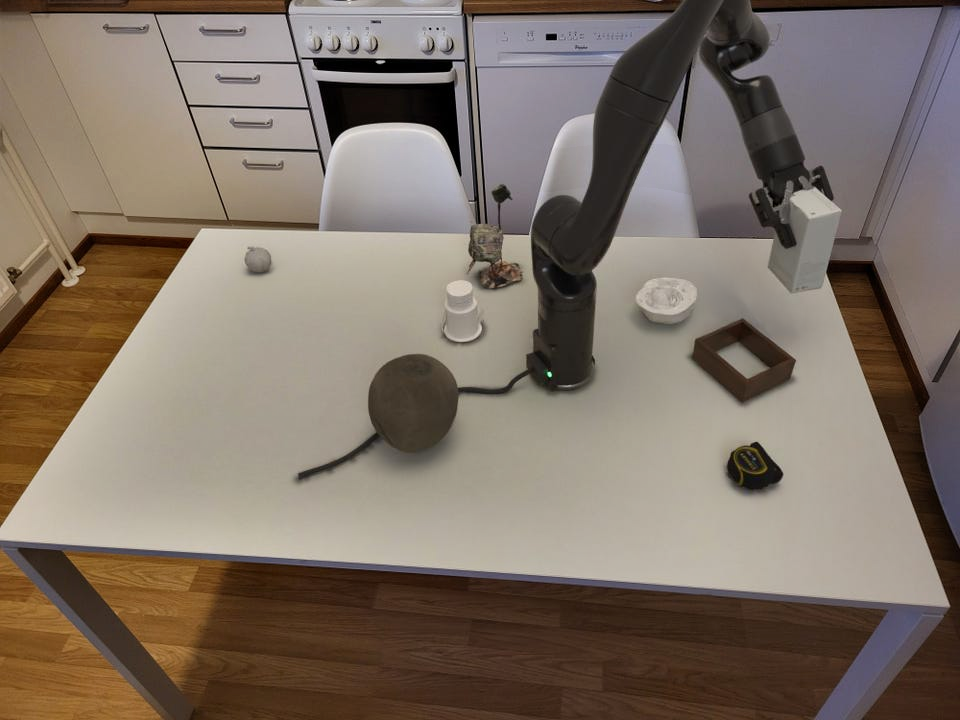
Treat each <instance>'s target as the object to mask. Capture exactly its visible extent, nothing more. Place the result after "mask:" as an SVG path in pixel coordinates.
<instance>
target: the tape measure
mask: <svg viewBox="0 0 960 720" xmlns="http://www.w3.org/2000/svg"><path fill="white" fill-rule="evenodd" d="M726 471H727V473H728V476H729V477H730V479H731V480H732V481H733V482H734V483H735V484H736V485H738V486H739V487H740V488H744V490H750V491H761V490H763V489H765V488H767V487H769V486H771V485H775V484H778V483H779V482H781V481H782V479H783V477H784V472H783V470H782V469H781V467H780V466H779V464H777V463H776V462H775V461H774V460H773V458H772V457H771V456H770V455H769V454H768V452H767V451H766V449H765V448H764V447H763V446H762V444H760V442H759V441H754V442H751V443H750V444H749V445H741V446H739V447H737V448H736V449H734V450H732V451H731V452H730V455H729V458H728V460H727V463H726Z"/></svg>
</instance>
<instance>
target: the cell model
mask: <svg viewBox="0 0 960 720" xmlns="http://www.w3.org/2000/svg"><path fill="white" fill-rule="evenodd" d="M697 295H698V288H697V287H696V286H695V285H694V284H693V283H692V282H691V281H689V280H687V279H685V278H684V279H683V278H679V277H678V278H677V277H668V276H661V277H656V278H652V279H649V280H647V281H646V282H645V283H644V285H643V286H642V288H641V289H639V290H638V291H637V293H636V295H635V302H636V303H637V306H638V309H640V310H641V312H643V314H644V315H645V316H646V317H647V319H648V320H649V321H650V322H652V323H658V324H665V325H675V324H678V323H680V322H682V321H684V320H685V319H687V318H688V317H689V316H690V315H691V313H692V311H693V309H694V307H695V304H696V300H697Z"/></svg>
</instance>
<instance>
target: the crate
mask: <svg viewBox="0 0 960 720" xmlns="http://www.w3.org/2000/svg"><path fill="white" fill-rule="evenodd" d="M737 342H739V343H740V344H741V345H742V346H743V347H745V348H746V349H747V350H748V351H750V353H752V354H754V356H756V357H757V358H758V359H760V360H761V361H762V362H763V363H764V364H766V365H767V366H768V367H769V368H767V369H765V370H762V371H761V372H759V373H757V374H755V375H752V376H750V377H749V378H747V377H745V376H744V374H743V373H741V372H740V371H739V370H738V369H736V368H735V367H734V366H733V365H731V363H729V362H728V361H727V360H725V358H723V357H722V356H721V355H720V354H718V353H717V351H720V350H722V349H724V348H726V347H728V346H730V345H732V344H735V343H737ZM691 359H692V360H694V362H695V363H696V364H698V365H699V366H700V368H702V369H703V370H704V371H706V373H708V374H709V375H710V376H711V377H712V378H713V379H715V380H716V381H717V382H718V384H720V385H721V386H722V387H724V388H725V389H726V390H727V391H728V392H729V393H730V394H731V395H733V396H734V397H735V398H736V399H737V400H738V401H739V402H740V403H741V404H743V403H745V402H746V401H749V400H751V399H753V398H755V397H757V396H759V395H761V394H763V393H765V392H767V391H769V390H772V389H774V388H775V387H778V386H780V385H781V384H784V383H786V382H787V381H789V380H791V379H792V375H793V371H794V368H795V365H796V362H797V359H796V358H795V357H793V356H792V355H791V354H790V353H788V352H787V351H786V350H784V349H783V348H782V347H781V346H779V345H778V344H777V343H775V342H774V341H773V340H771V339H770V338H769V337H768V336H767V335H765V334H764V333H763V332H762V331H760V330H759V329H758V328H756V327H755V326H754V325H753V324H752V323H750V322H749V321H747V320H746V319H745V318H744V317H742V318H740V319H737V320H736V321H734V322H731V323H729V324H726V325H724V326H722V327H720V328H718V329H715V330H713V331H711V332H709V333H706V334H704V335H702V336H700V337H697V338H695V339H694V345H693V350H692V355H691Z"/></svg>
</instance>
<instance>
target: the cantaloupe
mask: <svg viewBox="0 0 960 720" xmlns="http://www.w3.org/2000/svg"><path fill="white" fill-rule="evenodd" d="M458 388H459V386H458V383H457V380H456V378H455V376H454V374H453V373H452V371H451V370H450V368H448V367H447V366H446V365H445V364H444V363H443V362H442V361H440V360H439V359H437V358H435V357H433V356H431V355H428V354H424V353H411V354H410V353H409V354H405V355H401V356H399V357H395V358H393V359H391V360H389V361H387V362H386V363H385V364H383V365H382V366H381V367H380V368H379V369H378V370H377V371H376V372H375V375H374V376H373V378H372V380H371V381H370V385H369V388H368V395H367V398H368V399H367V410H368V416H369V420H370V422H371V425H372V426H373V429H374V430H375V433H376V432H377V433H378V434H379V437H380V438H381V439H382V440H383V441H384V442H385V443H386V444H388V445H389V446H390V447H391V448H393V449H395V450H398V451H401V452H404V453H407V454H415V453H421V452H424V451H427V450H429V449H431V448H433V447H435V446H436V445H437V444H438V443H440V442H441V441H442V440H443V439H444V438H445V437H446V435H447V434H448V432H449V431H450V429H451V428H452V426H453V423H454V421H455V418H456V416H457V412H458V406H459V393H458Z"/></svg>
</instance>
